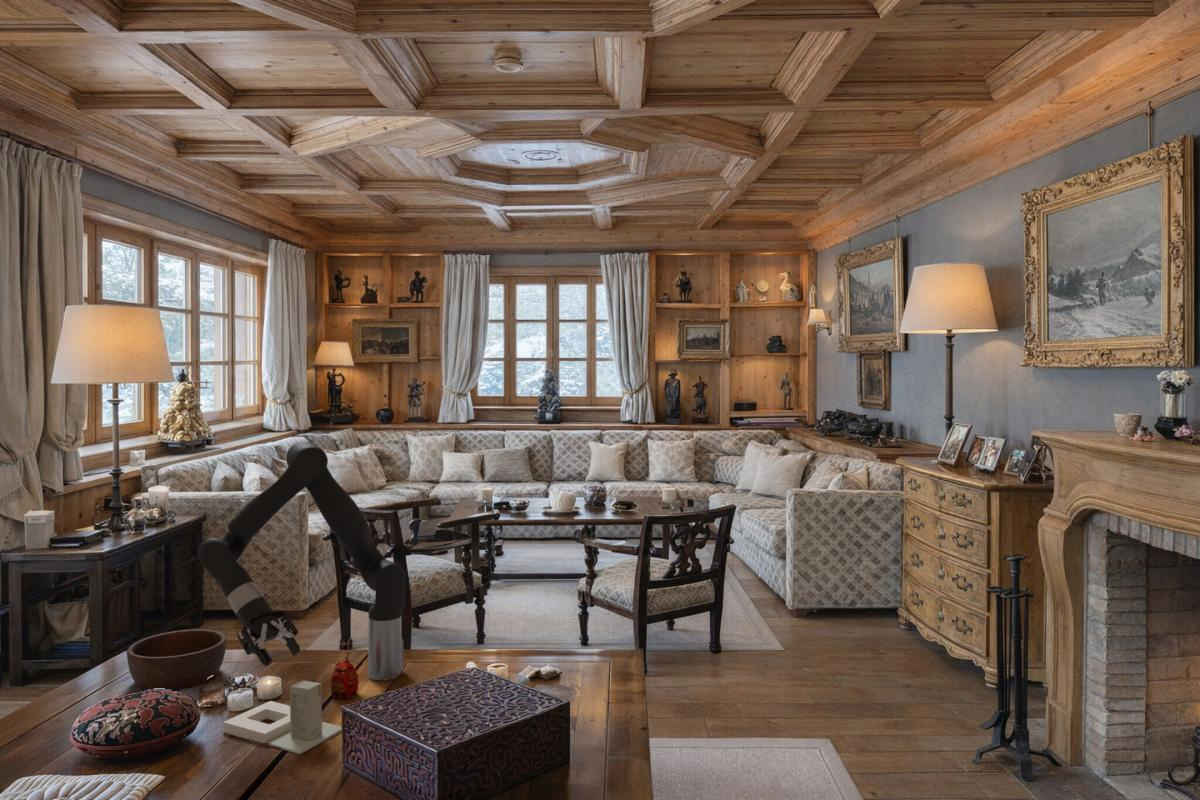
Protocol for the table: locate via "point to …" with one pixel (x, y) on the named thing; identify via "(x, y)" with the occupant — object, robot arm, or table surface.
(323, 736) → the green tile
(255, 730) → the holder block
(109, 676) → the table surface
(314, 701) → the skincare box
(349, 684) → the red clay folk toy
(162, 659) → the wooden bowl
